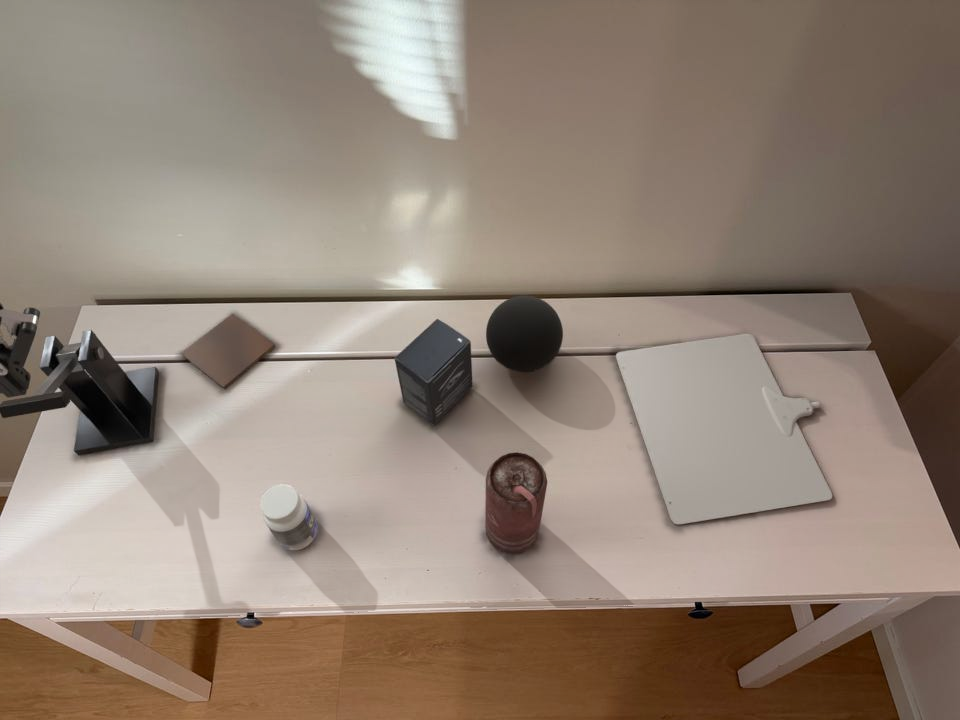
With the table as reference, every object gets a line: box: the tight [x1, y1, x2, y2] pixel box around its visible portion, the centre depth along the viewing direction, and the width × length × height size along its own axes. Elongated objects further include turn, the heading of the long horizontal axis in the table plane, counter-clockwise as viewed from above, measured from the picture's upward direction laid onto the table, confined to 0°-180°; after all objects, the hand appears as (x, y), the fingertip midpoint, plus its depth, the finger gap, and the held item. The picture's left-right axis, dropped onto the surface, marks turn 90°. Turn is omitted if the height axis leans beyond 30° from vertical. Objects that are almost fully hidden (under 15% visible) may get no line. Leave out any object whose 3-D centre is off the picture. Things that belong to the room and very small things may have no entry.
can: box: [484, 451, 548, 555], centre depth 71 cm, size 6×6×14 cm
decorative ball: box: [485, 295, 564, 373], centre depth 87 cm, size 10×10×10 cm
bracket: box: [39, 329, 160, 456], centre depth 80 cm, size 11×9×14 cm
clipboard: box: [615, 333, 833, 526], centre depth 84 cm, size 25×24×1 cm
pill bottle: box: [259, 483, 318, 551], centre depth 73 cm, size 5×5×8 cm
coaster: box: [180, 313, 276, 390], centre depth 91 cm, size 9×9×1 cm
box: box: [394, 318, 474, 426], centre depth 83 cm, size 8×6×11 cm
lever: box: [0, 342, 85, 419], centre depth 71 cm, size 13×6×2 cm, turn 12°
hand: (19, 388), depth 64 cm, fingers closed
